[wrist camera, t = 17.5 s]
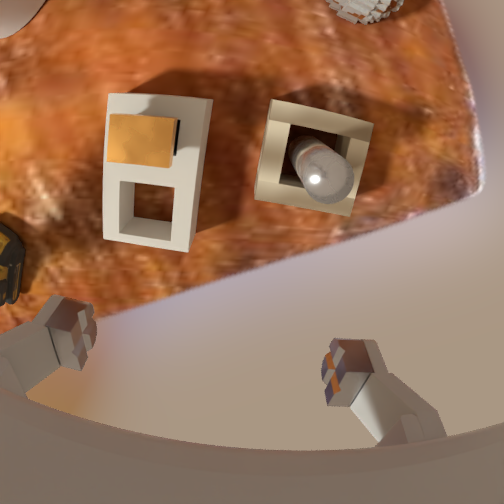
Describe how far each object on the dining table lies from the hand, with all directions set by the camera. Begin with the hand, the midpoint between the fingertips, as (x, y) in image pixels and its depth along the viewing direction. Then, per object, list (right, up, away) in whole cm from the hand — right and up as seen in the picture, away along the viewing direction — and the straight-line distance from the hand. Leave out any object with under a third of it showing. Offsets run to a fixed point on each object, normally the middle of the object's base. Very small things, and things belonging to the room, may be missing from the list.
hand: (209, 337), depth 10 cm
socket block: (-9, +13, +25) cm, 29 cm away
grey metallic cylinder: (+7, +14, +24) cm, 29 cm away
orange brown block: (-8, +16, +22) cm, 28 cm away
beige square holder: (+7, +14, +24) cm, 29 cm away
